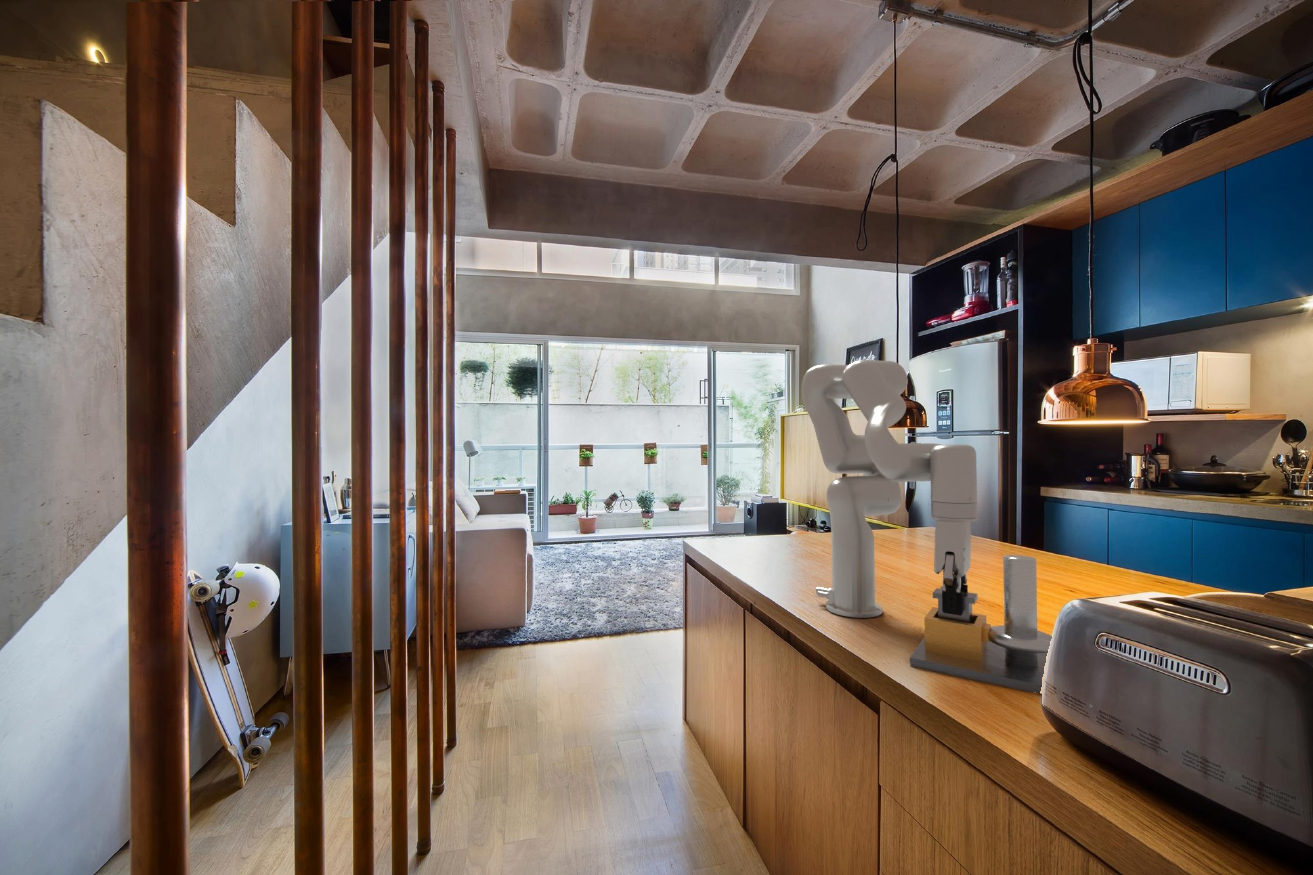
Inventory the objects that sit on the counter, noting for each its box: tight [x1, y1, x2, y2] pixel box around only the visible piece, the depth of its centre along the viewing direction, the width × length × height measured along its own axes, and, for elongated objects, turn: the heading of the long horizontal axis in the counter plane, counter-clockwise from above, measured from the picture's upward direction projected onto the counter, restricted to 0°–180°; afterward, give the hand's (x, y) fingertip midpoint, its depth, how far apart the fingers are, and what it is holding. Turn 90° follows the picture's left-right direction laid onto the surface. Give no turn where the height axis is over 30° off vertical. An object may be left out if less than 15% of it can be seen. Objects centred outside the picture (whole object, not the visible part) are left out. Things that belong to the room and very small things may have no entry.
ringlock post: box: [909, 554, 1053, 695], centre depth 98 cm, size 21×18×20 cm
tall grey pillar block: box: [932, 588, 979, 624], centre depth 101 cm, size 7×4×10 cm, turn 53°
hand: (955, 608), depth 101 cm, fingers open, 5 cm apart
